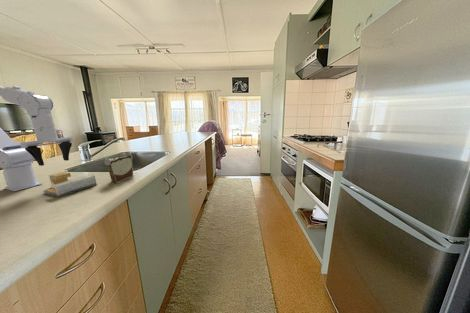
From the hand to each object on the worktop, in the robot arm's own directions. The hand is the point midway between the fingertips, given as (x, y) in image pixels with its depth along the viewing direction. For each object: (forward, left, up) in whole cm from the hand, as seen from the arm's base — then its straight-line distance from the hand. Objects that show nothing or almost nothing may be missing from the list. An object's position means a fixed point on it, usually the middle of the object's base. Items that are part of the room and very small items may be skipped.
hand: (54, 162), depth 72 cm
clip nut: (+1, 0, -10) cm, 10 cm away
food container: (+17, +13, -10) cm, 23 cm away
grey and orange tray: (+10, -1, -9) cm, 14 cm away
